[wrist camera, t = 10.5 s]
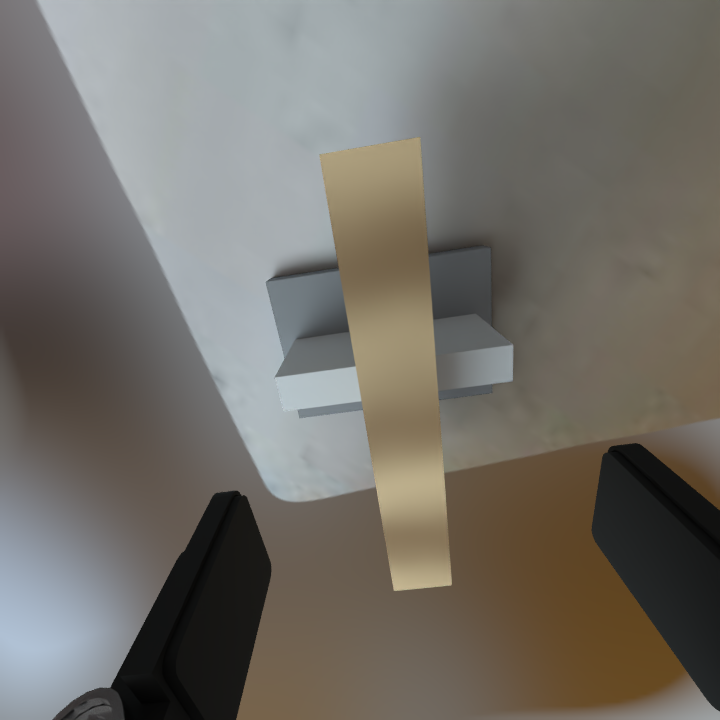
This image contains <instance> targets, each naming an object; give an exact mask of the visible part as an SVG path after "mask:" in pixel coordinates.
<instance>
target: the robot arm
mask: <svg viewBox="0 0 720 720" xmlns="http://www.w3.org/2000/svg"><path fill="white" fill-rule="evenodd" d="M592 534H593V537H594V540H595V542H596V543H597V545H598V546H599V548H600V549H601V551H602V552H603V553H604V555H605V556H606V558H607V559H608V560H609V562H610V563H611V565H612V566H613V568H614V569H615V570H616V572H617V573H618V575H619V576H620V577H621V579H622V580H623V582H624V583H625V585H626V586H627V587H628V589H629V590H630V592H631V593H632V594H633V595H634V597H635V599H636V600H637V601H638V603H639V604H640V606H641V607H642V608H643V610H644V611H645V613H646V614H647V615H648V617H649V618H650V620H651V621H652V623H653V624H654V625H655V627H656V628H657V630H658V631H659V632H660V634H661V635H662V637H663V638H664V640H665V641H666V642H667V644H668V645H669V647H670V648H671V650H672V651H673V652H674V654H675V655H676V656H677V658H678V659H679V661H680V662H681V664H682V665H683V667H684V668H685V669H686V671H687V672H688V673H689V675H690V676H691V678H692V679H693V681H694V682H695V683H696V685H697V686H698V688H699V689H700V691H701V692H702V693H703V695H704V696H705V697H706V699H707V700H708V701H709V703H710V704H711V705H712V706H713V707H714V708H715V709H717V710H718V711H720V510H718V509H717V508H716V507H715V506H714V505H713V504H711V503H710V502H709V501H708V500H707V499H705V498H704V497H703V496H702V495H701V494H699V493H698V492H697V491H696V490H695V489H693V488H692V487H691V486H690V485H689V484H687V483H686V482H685V481H684V480H683V479H681V478H680V477H679V476H678V475H677V474H675V473H674V472H673V471H672V470H671V469H670V468H668V467H667V466H666V465H665V464H663V463H662V462H661V461H660V460H659V459H657V458H656V457H655V456H654V455H653V454H652V453H650V452H649V451H648V450H647V449H646V448H644V447H643V446H642V445H640V444H637V443H634V444H625V445H617V446H612V447H610V448H609V450H608V453H605V454H604V455H603V457H602V464H601V470H600V477H599V484H598V490H597V496H596V503H595V510H594V516H593V523H592ZM270 577H271V562H270V559H269V557H268V554H267V551H266V548H265V546H264V543H263V540H262V537H261V535H260V532H259V529H258V526H257V524H256V521H255V518H254V515H253V513H252V510H251V508H250V504H249V502H248V499H247V497H246V496H244V495H243V496H241V494H240V492H238V491H229V492H221V493H216V494H215V495H214V496H213V497H212V499H211V501H210V503H209V505H208V507H207V508H206V510H205V512H204V514H203V516H202V518H201V520H200V522H199V524H198V526H197V528H196V530H195V532H194V534H193V536H192V538H191V540H190V542H189V544H188V545H187V547H186V550H185V551H184V552H183V553H181V555H180V556H179V558H178V559H177V561H176V563H175V565H174V567H173V568H172V570H171V572H170V574H169V576H168V578H167V580H166V582H165V584H164V586H163V588H162V589H161V591H160V593H159V595H158V597H157V599H156V601H155V603H154V605H153V607H152V609H151V611H150V613H149V614H148V616H147V618H146V620H145V622H144V624H143V626H142V628H141V630H140V632H139V634H138V635H137V637H136V639H135V641H134V643H133V645H132V647H131V649H130V651H129V653H128V655H127V657H126V659H125V660H124V662H123V664H122V666H121V668H120V670H119V672H118V674H117V676H116V678H115V679H114V682H113V683H112V685H111V687H110V688H97V689H94V690H92V691H89V692H86V693H85V694H83V695H81V696H80V697H78V698H77V699H75V700H73V701H72V702H71V703H70V704H69V705H67V706H66V707H65V708H64V709H63V710H62V711H60V712H59V713H58V714H57V715H56V717H55V718H54V719H53V720H236V718H237V714H238V709H239V705H240V701H241V697H242V693H243V689H244V685H245V680H246V676H247V673H248V668H249V664H250V660H251V656H252V652H253V648H254V643H255V640H256V635H257V631H258V627H259V623H260V619H261V615H262V611H263V607H264V602H265V598H266V594H267V590H268V586H269V582H270Z"/></svg>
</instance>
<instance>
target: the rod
mask: <svg viewBox="0 0 720 720" xmlns="http://www.w3.org/2000/svg"><path fill="white" fill-rule="evenodd" d="M320 161H321V167H322V173H323V179H324V184H325V190H326V196H327V202H328V208H329V214H330V220H331V225H332V231H333V237H334V243H335V249H336V255H337V260H338V266H339V272H340V278H341V284H342V290H343V295H344V301H345V307H346V313H347V319H348V325H349V331H350V336H351V342H352V348H353V354H354V360H355V366H356V371H357V377H358V383H359V389H360V395H361V401H362V407H363V412H364V418H365V424H366V430H367V436H368V442H369V447H370V453H371V459H372V465H373V471H374V477H375V483H376V488H377V494H378V500H379V506H380V512H381V518H382V523H383V529H384V534H385V541H386V547H387V552H388V558H389V564H390V570H391V576H392V582H393V587H394V591H398V590H408V589H418V588H428V587H437V586H448V585H452V581H451V568H450V553H449V539H448V525H447V511H446V497H445V482H444V468H443V454H442V440H441V426H440V411H439V397H438V383H437V369H436V355H435V341H434V327H433V313H432V298H431V284H430V270H429V256H428V242H427V228H426V214H425V199H424V185H423V171H422V157H421V143H420V137H417V138H411V139H406V140H400V141H394V142H388V143H383V144H377V145H371V146H366V147H360V148H354V149H348V150H343V151H337V152H331V153H326V154H320Z"/></svg>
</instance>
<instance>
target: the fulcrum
mask: <svg viewBox="0 0 720 720" xmlns="http://www.w3.org/2000/svg"><path fill="white" fill-rule="evenodd" d="M428 256H429V270H430V284H431V298H432V313H433V327H434V341H435V355H436V369H437V383H438V397H439V400H443V399H450V398H458V397H466V396H473V395H481V394H489V393H492V384H495V383H503V382H510V381H513V344H512V343H511V342H509V341H508V340H507V339H506V338H505V337H503V336H502V335H501V334H500V333H499V332H497V331H496V330H495V329H494V328H493V327H492V303H491V247H488V246H476V247H470V248H463V249H457V250H450V251H444V252H437V253H431V254H428ZM266 286H267V290H268V294H269V298H270V302H271V306H272V310H273V314H274V318H275V322H276V326H277V330H278V334H279V338H280V342H281V346H282V350H283V354H284V358H285V359H284V361H283V363H282V365H281V367H280V369H279V370H278V372H277V374H276V376H275V381H276V385H277V389H278V392H279V396H280V400H281V403H282V407H283V411H291V410H298V414H299V418H305V417H312V416H320V415H328V414H335V413H343V412H351V411H358V410H363V407H362V401H361V395H360V389H359V383H358V377H357V371H356V366H355V360H354V354H353V348H352V342H351V336H350V331H349V325H348V319H347V313H346V307H345V301H344V295H343V290H342V284H341V278H340V272H339V268H334V269H328V270H321V271H315V272H308V273H302V274H296V275H289V276H283V277H276V278H271V279H269V280H268V281H266Z"/></svg>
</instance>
